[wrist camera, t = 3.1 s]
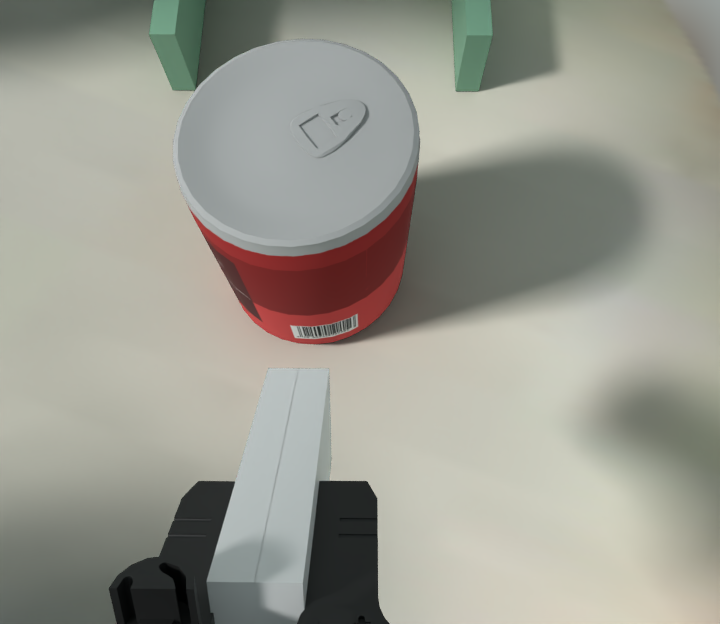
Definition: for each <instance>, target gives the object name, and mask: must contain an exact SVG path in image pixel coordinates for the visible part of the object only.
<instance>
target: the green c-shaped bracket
mask: <svg viewBox="0 0 720 624" xmlns="http://www.w3.org/2000/svg"><path fill="white" fill-rule="evenodd" d="M205 2H206V0H154V3H153V10H152V17H151V24H150V31H149V36H150V38H151V40H152V43H153V45H154V47H155V50H156V52H157V54H158V57H159V59H160V61H161V64H162V66H163V68H164V71H165V73H166V75H167V78H168V80H169V82H170V85H171V87H172V89H173V90H196V83H197V74H198V65H199V56H200V47H201V38H202V29H203V20H204V11H205ZM452 22H453V44H454V67H455V89H456V91H479V88H480V84H481V80H482V76H483V72H484V68H485V64H486V60H487V56H488V52H489V49H490V45H491V41H492V37H493V31H492V16H491V2H490V0H452Z"/></svg>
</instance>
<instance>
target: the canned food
mask: <svg viewBox="0 0 720 624" xmlns="http://www.w3.org/2000/svg"><path fill="white" fill-rule="evenodd" d="M419 132H420V131H419V125H418V118H417V112H416V109H415V107H414V104H413V102H412V99H411V97H410V94H409V93H408V91H407V90H406V88H405V87H404V85H403V84H402V83H401V81H400V80H399V78H398V77H397V76H396V75H395V74H394V73H393V72H392V71H391V70H390V69H389V68H387V67H386V66H385V65H384V64H383V63H382V62H380V61H379V60H377V59H375V58H374V57H372V56H370V55H369V54H367V53H366V52H364V51H361V50H358V49H356V48H353V47H351V46H348V45H345V44H341V43H336V42H331V41H327V40H316V39H295V40H286V41H278V42H274V43H270V44H267V45H263V46H260V47H256V48H254V49H251V50H249V51H247V52H245V53H242V54H240V55H238V56H236V57H234V58H232V59H231V60H229V61H228V62H226V63H225V64H223V65H222V66H220V67H219V68H217V69H216V70H215V71H214V72H213V73H211V74H210V75H209V76H208V77H207V78H206V79H205V80H204V81H203V82H202V83H201V84H200V85H199V86H198V87H197V89H196V90H195V91H194V93H193V94H192V96H191V97H190V98H189V100H188V101H187V102H186V105H185V107H184V109H183V111H182V113H181V115H180V117H179V120H178V122H177V126H176V131H175V135H174V140H173V163H174V167H175V171H176V175H177V179H178V183H179V186H180V190H181V193H182V195H183V197H184V199H185V200H186V202H187V204H188V207H189V209H190V211H191V213H192V215H193V217H194V219H195V221H196V223H197V225H198V227H199V228H200V230H201V232H202V234H203V236H204V238H205V239H206V241H207V243H208V245H209V247H210V249H211V250H212V252H213V254H214V256H215V258H216V260H217V261H218V263H219V265H220V267H221V269H222V271H223V272H224V274H225V276H226V278H227V280H228V282H229V283H230V285H231V287H232V289H233V291H234V293H235V294H236V296H237V298H238V300H239V302H240V304H241V305H242V307H243V309H244V311H245V312H246V313H247V314H248V315H249V317H250V318H251V319H252V320H253V321H254V322H255V323H256V324H257V325H258V326H260V327H261V328H262V329H264V330H265V331H266V332H268V333H270V334H272V335H274V336H277V337H279V338H281V339H283V340H288V341H292V342H296V343H303V344H323V343H330V342H335V341H338V340H341V339H344V338H347V337H350V336H352V335H354V334H355V333H357V332H359V331H361V330H363V329H365V328H366V327H367V326H369V325H370V324H371V323H372V322H374V321H375V320H376V319H377V318H379V317H380V315H381V314H382V313H383V312H384V311H385V309H386V308H387V307H388V306H389V305H390V303H391V301H392V299H393V298H394V296H395V294H396V292H397V290H398V287H399V284H400V281H401V277H402V273H403V266H404V260H405V253H406V247H407V240H408V233H409V227H410V220H411V214H412V207H413V201H414V194H415V187H416V181H417V169H418V162H419V150H420V137H419Z"/></svg>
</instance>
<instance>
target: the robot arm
mask: <svg viewBox="0 0 720 624" xmlns="http://www.w3.org/2000/svg"><path fill="white" fill-rule="evenodd" d="M331 459H332V458H331V420H330V383H329V369H319V368H268V371H267V374H266V378H265V381H264V385H263V388H262V392H261V395H260V398H259V402H258V405H257V409H256V412H255V416H254V419H253V423H252V426H251V430H250V433H249V436H248V440H247V443H246V447H245V450H244V454H243V457H242V461H241V464H240V467H239V471H238V474H237V478H236V481H235V482H232V481H198V482H197V483H196V484H195V485H194V486H193V487H192V488H191V489H190V490H189V491H188V492H187V493H186V494H185V495H184V497H183V498H182V499H181V502H180V505H179V507H178V510H177V512H176V515H175V517H174V518H175V519H174V521H173V523H172V525H171V528H170V530H169V533H168V537H167V538H166V541H165V543H164V546H163V548H162V551H161V553H160V556H159V557H153V558H147V559H144V560H142V561H140V562H137V563H135V564H133V565H131V566H129V567H128V568H127V569H125V570H124V571H123V572H122V573H120V574H119V575H118V576H117V577H116V579H115V580H114V582H113V583H112V584H111V586H110V587H109V591H110V596H111V600H112V604H113V609H114V613H115V617H116V622H117V624H389V622H388V621H387V620H386V619H385V618H384V616H383V614H382V612H381V609H380V607H379V601H378V538H377V497H376V496H375V494H374V492H373V490H372V489H371V487H370V485H369V484H368V482H367V481H329V480H330V469H331Z"/></svg>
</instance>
